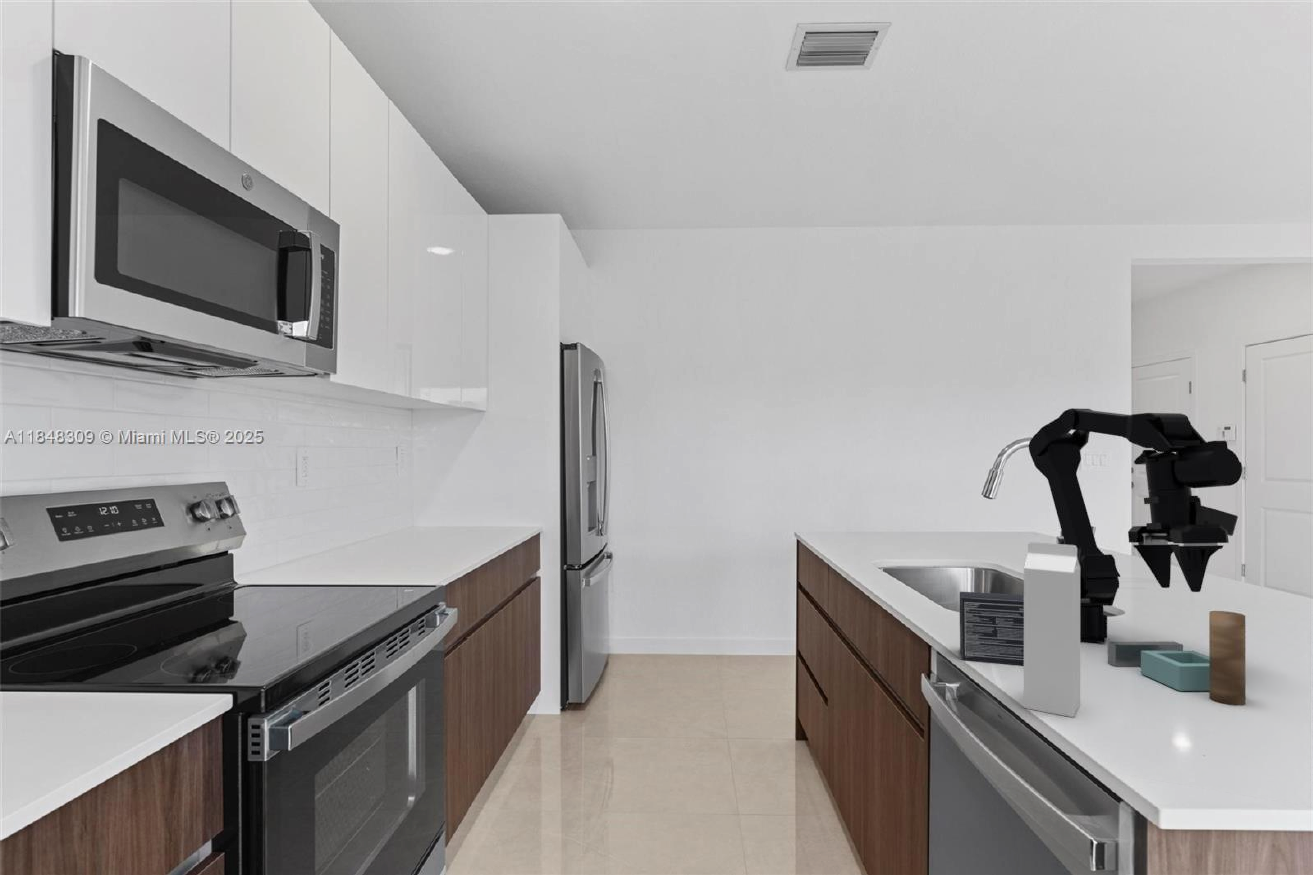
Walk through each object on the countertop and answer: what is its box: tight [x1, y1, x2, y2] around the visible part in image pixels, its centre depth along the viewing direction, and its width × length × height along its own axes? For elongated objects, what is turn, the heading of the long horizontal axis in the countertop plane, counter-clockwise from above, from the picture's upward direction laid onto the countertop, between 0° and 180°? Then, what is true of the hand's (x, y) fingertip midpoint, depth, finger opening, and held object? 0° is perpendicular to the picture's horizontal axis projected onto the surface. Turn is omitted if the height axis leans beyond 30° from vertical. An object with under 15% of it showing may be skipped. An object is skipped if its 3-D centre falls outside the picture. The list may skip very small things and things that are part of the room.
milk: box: [1023, 541, 1081, 718], centre depth 102 cm, size 6×6×22 cm
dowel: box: [1208, 610, 1247, 706], centre depth 105 cm, size 4×4×12 cm
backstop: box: [1107, 641, 1184, 668], centre depth 122 cm, size 2×11×4 cm, turn 92°
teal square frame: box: [1140, 650, 1209, 692], centre depth 113 cm, size 8×8×4 cm
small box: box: [959, 591, 1024, 666], centre depth 125 cm, size 11×6×10 cm, turn 71°
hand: (1180, 589), depth 119 cm, fingers open, 9 cm apart
